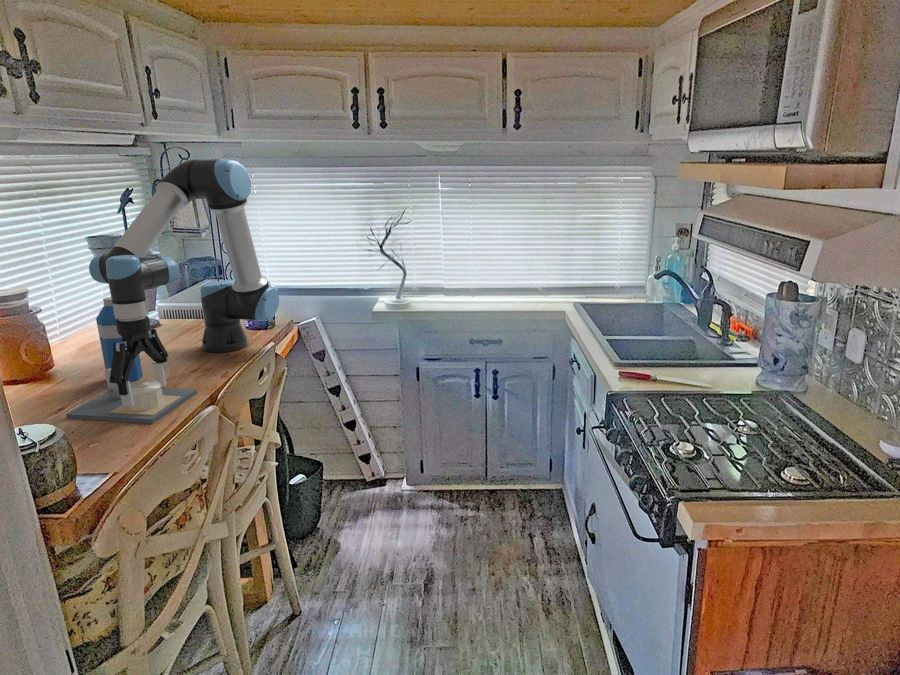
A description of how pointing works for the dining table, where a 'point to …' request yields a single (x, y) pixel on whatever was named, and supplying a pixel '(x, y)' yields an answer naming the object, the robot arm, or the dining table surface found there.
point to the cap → (146, 395)
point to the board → (112, 409)
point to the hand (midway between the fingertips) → (145, 395)
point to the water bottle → (113, 339)
